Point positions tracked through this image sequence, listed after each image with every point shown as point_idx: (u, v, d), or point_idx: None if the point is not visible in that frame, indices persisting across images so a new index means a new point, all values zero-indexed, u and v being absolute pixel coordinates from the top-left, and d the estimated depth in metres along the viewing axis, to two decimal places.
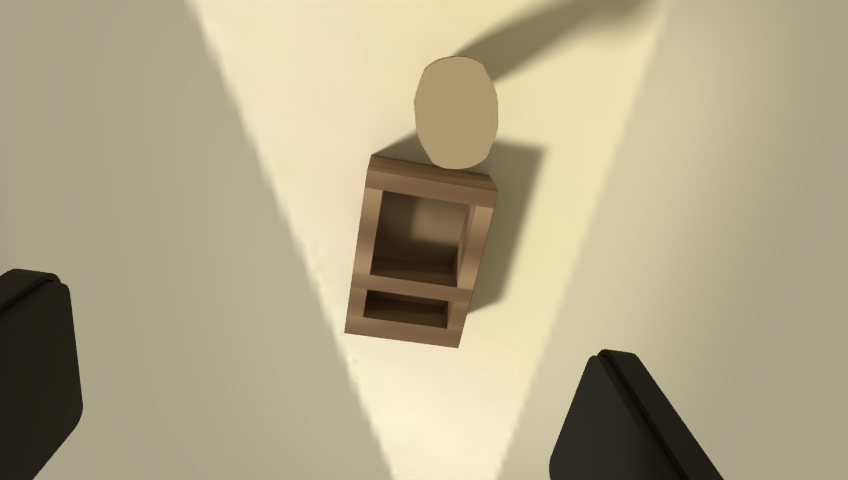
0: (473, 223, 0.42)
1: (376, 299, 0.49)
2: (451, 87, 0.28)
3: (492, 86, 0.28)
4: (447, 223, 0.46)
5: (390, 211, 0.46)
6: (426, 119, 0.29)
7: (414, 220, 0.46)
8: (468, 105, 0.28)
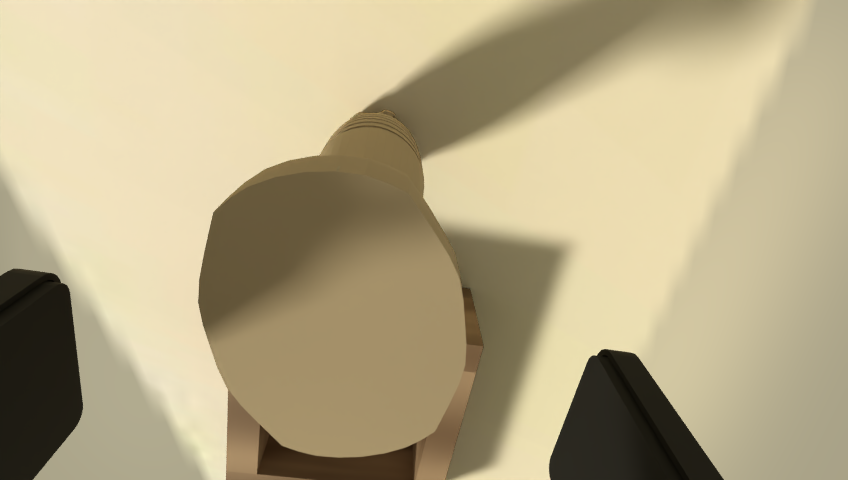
0: None
1: None
2: (312, 262, 0.09)
3: (445, 257, 0.09)
4: None
5: None
6: (243, 345, 0.09)
7: None
8: (371, 308, 0.09)
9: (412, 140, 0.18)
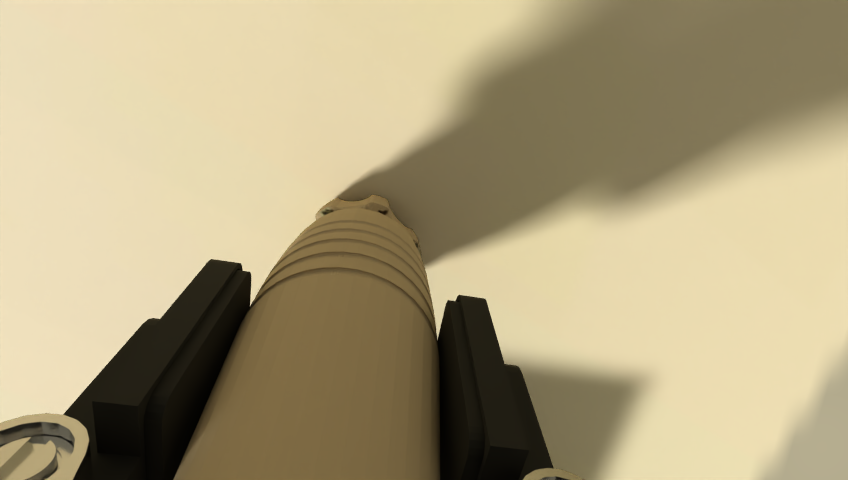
0: None
1: None
2: None
3: None
4: None
5: None
6: None
7: None
8: None
9: (417, 274, 0.10)
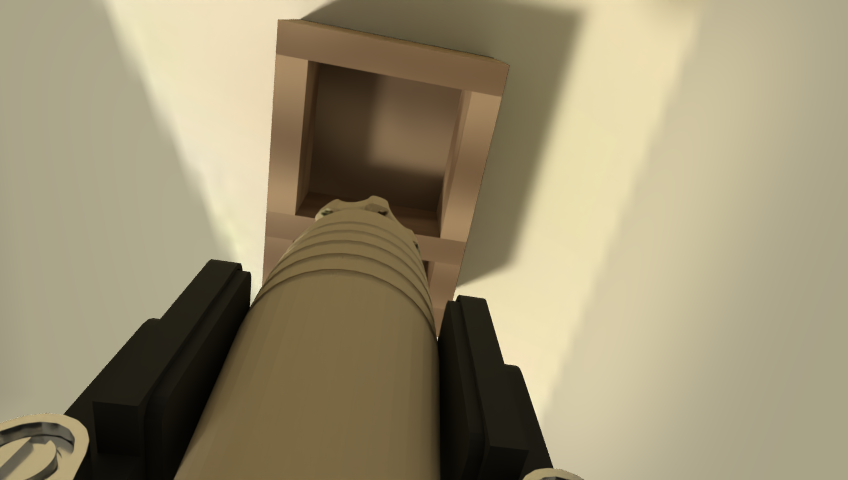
0: (467, 124, 0.25)
1: None
2: None
3: None
4: (426, 137, 0.29)
5: (334, 116, 0.28)
6: None
7: (373, 132, 0.29)
8: None
9: (417, 275, 0.10)
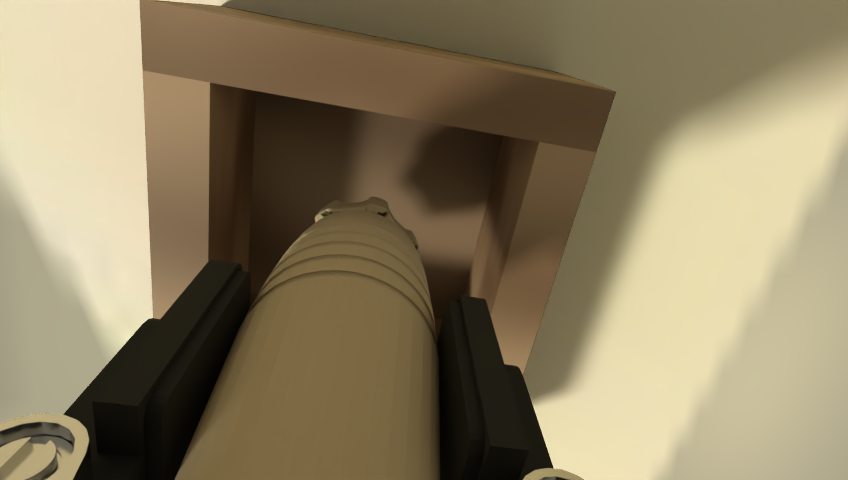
0: (525, 203, 0.13)
1: None
2: None
3: None
4: (443, 206, 0.17)
5: (284, 173, 0.16)
6: None
7: (353, 199, 0.17)
8: None
9: (417, 276, 0.10)
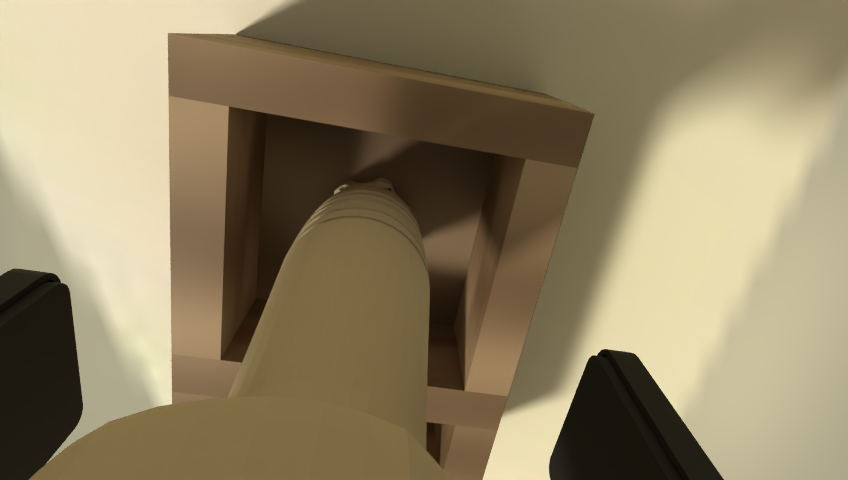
0: (514, 214, 0.14)
1: None
2: None
3: None
4: (440, 217, 0.18)
5: (292, 187, 0.18)
6: None
7: None
8: None
9: (414, 228, 0.14)
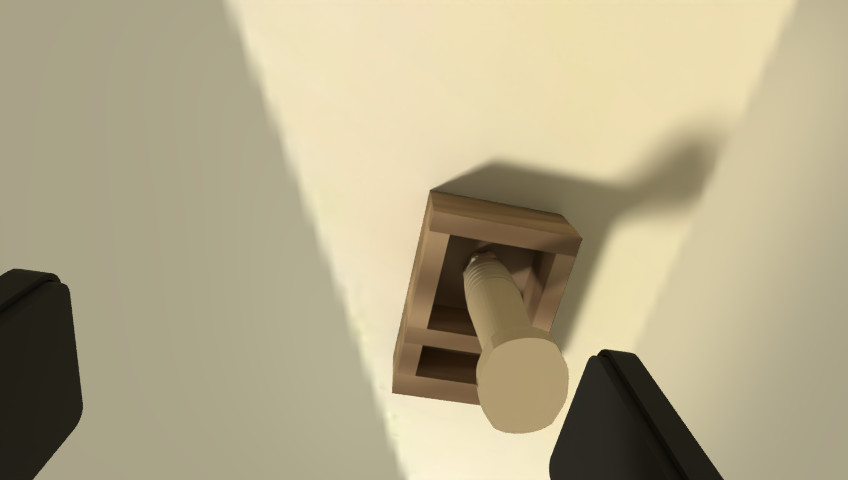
0: (551, 273, 0.36)
1: (426, 351, 0.43)
2: (521, 364, 0.26)
3: (564, 363, 0.26)
4: (513, 268, 0.41)
5: (449, 254, 0.40)
6: (490, 390, 0.27)
7: None
8: (537, 379, 0.26)
9: (513, 279, 0.36)
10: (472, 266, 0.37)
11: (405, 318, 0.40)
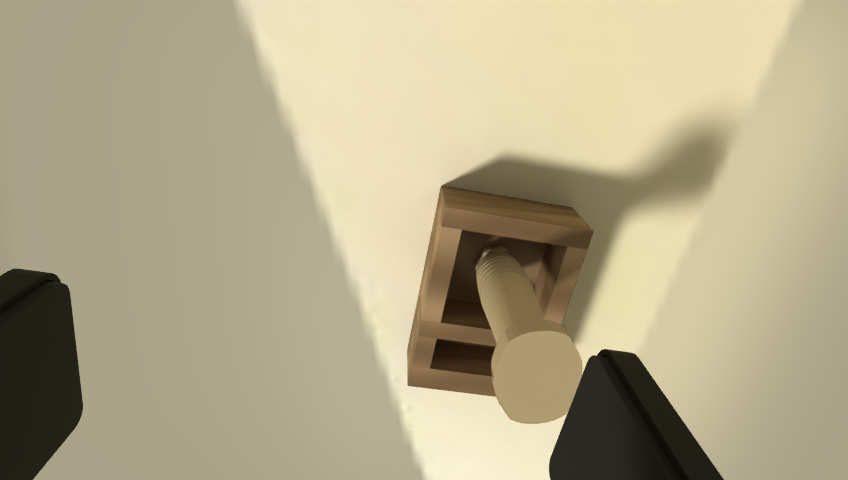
0: (562, 266, 0.37)
1: (439, 344, 0.44)
2: (535, 356, 0.27)
3: (578, 354, 0.27)
4: (524, 261, 0.41)
5: (461, 248, 0.40)
6: (506, 382, 0.27)
7: None
8: (551, 370, 0.27)
9: None
10: (484, 260, 0.38)
11: (419, 312, 0.41)
